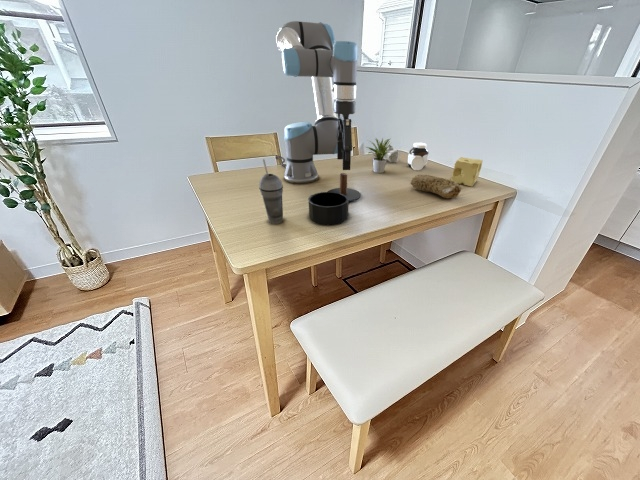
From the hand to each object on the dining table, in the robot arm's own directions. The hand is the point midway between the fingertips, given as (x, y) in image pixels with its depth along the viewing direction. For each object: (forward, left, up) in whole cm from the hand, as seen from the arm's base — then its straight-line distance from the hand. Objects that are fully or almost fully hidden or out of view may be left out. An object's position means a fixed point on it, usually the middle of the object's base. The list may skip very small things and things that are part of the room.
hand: (343, 164), depth 105 cm
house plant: (-33, +24, -13) cm, 43 cm away
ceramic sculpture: (-51, +34, -13) cm, 62 cm away
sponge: (0, +39, -13) cm, 41 cm away
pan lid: (0, 0, -12) cm, 12 cm away
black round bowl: (+18, -8, -13) cm, 24 cm away
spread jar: (-36, +46, -13) cm, 60 cm away
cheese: (-12, +60, -13) cm, 63 cm away
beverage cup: (+19, -26, -13) cm, 35 cm away
